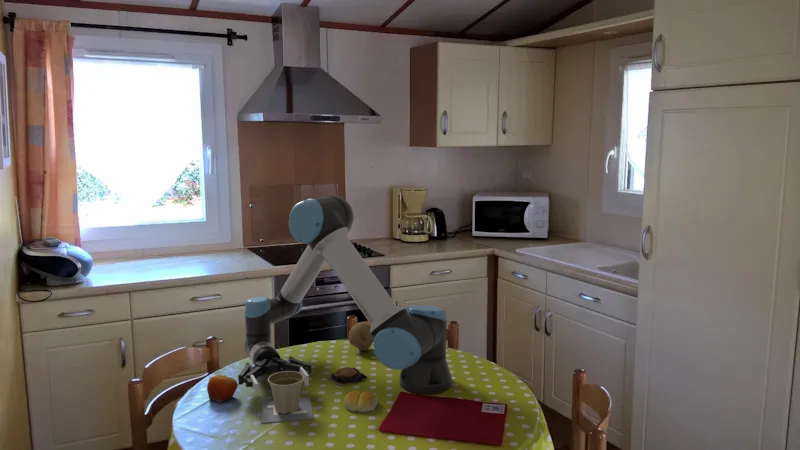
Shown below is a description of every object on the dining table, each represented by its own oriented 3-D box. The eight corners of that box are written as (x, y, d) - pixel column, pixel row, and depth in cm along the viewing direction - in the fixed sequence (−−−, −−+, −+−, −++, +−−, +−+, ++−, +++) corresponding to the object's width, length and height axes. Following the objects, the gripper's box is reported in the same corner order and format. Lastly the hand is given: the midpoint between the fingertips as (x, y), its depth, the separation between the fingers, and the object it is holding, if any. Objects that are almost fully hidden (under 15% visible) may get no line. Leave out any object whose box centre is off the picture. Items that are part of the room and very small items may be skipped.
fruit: (196, 400, 164) (204, 370, 167) (212, 404, 171) (220, 375, 174) (221, 405, 161) (229, 374, 164) (237, 409, 168) (245, 379, 171)
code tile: (261, 423, 154) (261, 422, 154) (262, 401, 167) (262, 400, 167) (313, 419, 157) (313, 417, 157) (310, 397, 169) (310, 396, 169)
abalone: (339, 389, 177) (339, 376, 176) (325, 379, 184) (325, 367, 183) (370, 380, 183) (370, 368, 182) (356, 371, 190) (356, 360, 189)
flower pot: (301, 417, 157) (300, 385, 156) (264, 416, 157) (263, 384, 156) (307, 401, 166) (307, 371, 165) (273, 401, 166) (272, 370, 165)
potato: (365, 357, 200) (365, 328, 199) (343, 352, 205) (342, 323, 203) (380, 349, 208) (380, 320, 207) (358, 344, 212) (358, 316, 211)
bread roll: (349, 398, 170) (349, 384, 169) (380, 402, 167) (380, 388, 167) (338, 411, 162) (338, 396, 161) (371, 415, 159) (371, 400, 159)
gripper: (306, 364, 187) (327, 390, 168) (222, 376, 177) (234, 406, 158) (306, 340, 186) (327, 363, 167) (221, 351, 176) (233, 378, 157)
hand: (282, 384), depth 163 cm, fingers open, 13 cm apart
